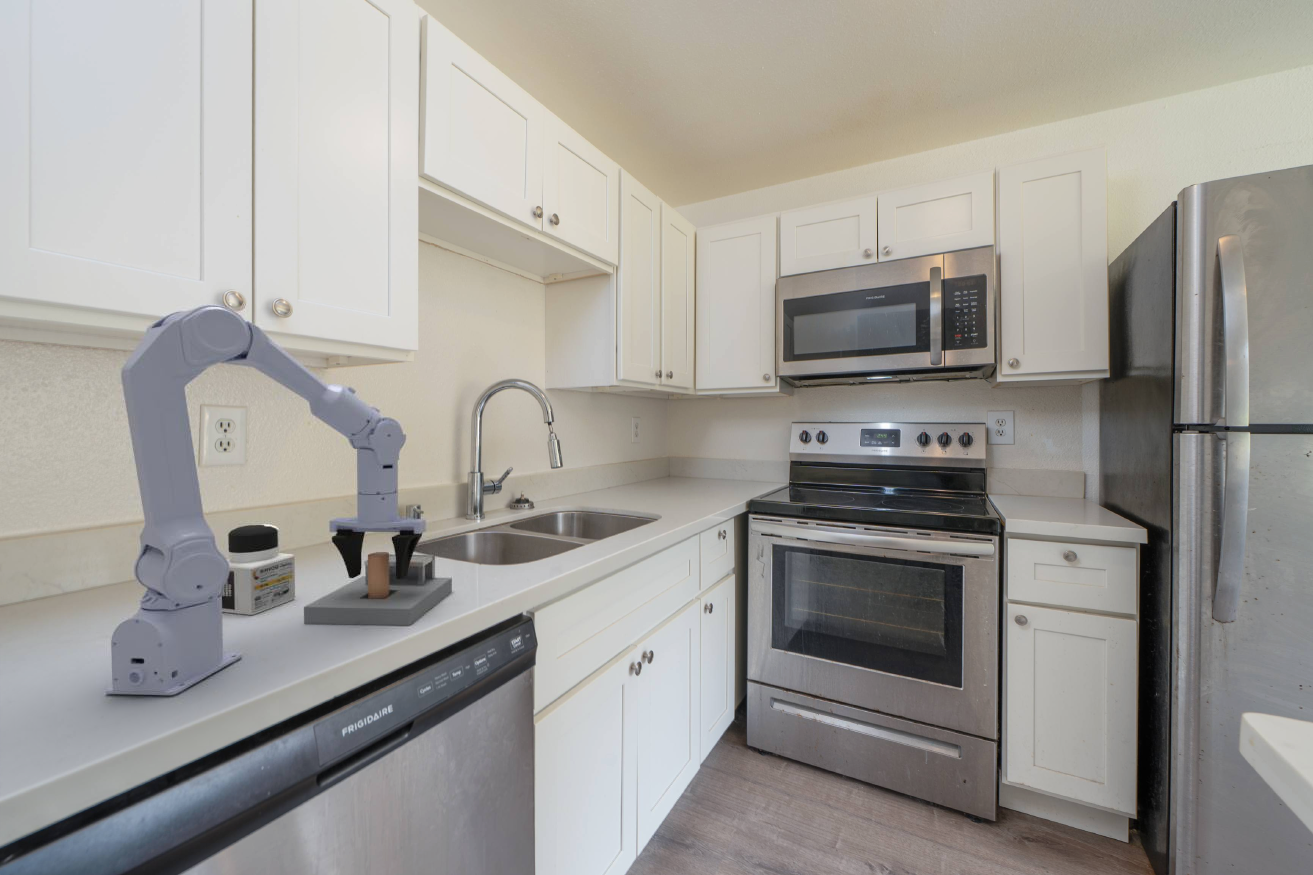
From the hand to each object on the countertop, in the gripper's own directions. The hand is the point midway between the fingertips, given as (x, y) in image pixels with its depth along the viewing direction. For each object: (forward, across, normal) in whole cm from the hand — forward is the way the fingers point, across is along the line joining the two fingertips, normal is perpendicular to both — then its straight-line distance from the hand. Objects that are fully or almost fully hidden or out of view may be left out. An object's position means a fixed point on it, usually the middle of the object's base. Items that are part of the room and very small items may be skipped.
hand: (378, 576), depth 83 cm
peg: (+5, 0, 0) cm, 5 cm away
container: (+6, +21, -1) cm, 22 cm away
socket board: (+5, 0, -2) cm, 6 cm away
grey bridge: (+3, 0, -7) cm, 7 cm away
